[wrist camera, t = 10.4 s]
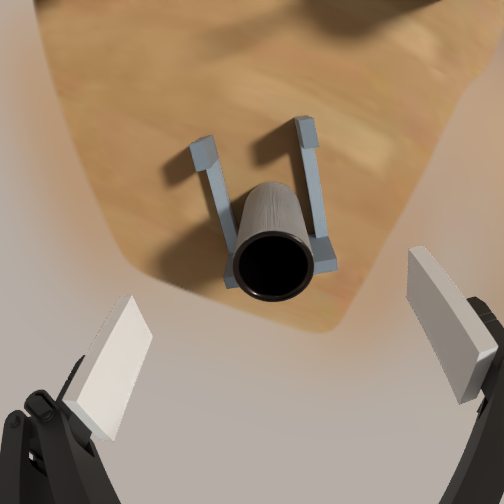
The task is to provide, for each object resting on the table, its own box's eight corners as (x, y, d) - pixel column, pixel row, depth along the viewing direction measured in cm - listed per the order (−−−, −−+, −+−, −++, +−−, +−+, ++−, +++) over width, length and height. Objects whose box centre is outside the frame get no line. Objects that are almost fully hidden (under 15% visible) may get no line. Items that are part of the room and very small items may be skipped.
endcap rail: (200, 137, 24) (185, 146, 20) (306, 115, 23) (315, 119, 19) (233, 258, 29) (226, 288, 25) (327, 241, 28) (337, 270, 23)
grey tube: (234, 200, 27) (214, 259, 17) (279, 170, 25) (286, 214, 16) (264, 241, 28) (262, 315, 19) (309, 214, 27) (329, 278, 18)
